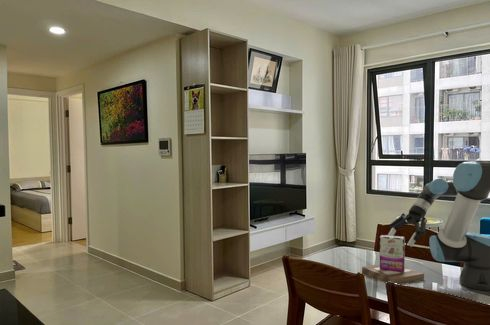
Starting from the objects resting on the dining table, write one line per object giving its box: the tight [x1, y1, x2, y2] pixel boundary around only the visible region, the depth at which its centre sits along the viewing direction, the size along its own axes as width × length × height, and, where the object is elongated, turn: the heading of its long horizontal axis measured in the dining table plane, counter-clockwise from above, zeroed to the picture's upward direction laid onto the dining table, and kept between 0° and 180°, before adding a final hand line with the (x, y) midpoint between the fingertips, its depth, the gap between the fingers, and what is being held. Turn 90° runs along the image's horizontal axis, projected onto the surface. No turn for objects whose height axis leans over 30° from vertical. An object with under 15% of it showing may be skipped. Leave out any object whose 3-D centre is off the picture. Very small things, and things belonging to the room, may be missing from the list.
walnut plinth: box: [361, 263, 425, 285], centre depth 179 cm, size 20×20×3 cm
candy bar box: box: [379, 234, 406, 272], centre depth 179 cm, size 11×5×16 cm, turn 62°
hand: (398, 242), depth 182 cm, fingers open, 13 cm apart
